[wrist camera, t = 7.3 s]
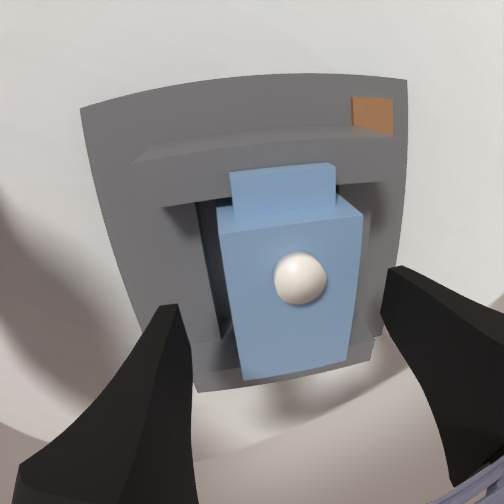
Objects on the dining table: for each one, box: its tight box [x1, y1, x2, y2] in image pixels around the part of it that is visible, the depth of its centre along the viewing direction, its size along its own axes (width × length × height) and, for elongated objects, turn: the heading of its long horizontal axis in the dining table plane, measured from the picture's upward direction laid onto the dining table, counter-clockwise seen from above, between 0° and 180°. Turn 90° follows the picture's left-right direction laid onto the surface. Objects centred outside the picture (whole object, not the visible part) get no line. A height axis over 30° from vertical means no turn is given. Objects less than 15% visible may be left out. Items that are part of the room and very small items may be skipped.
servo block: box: [216, 162, 363, 381], centre depth 11 cm, size 4×8×6 cm, turn 6°
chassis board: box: [80, 73, 408, 393], centre depth 13 cm, size 14×15×4 cm
